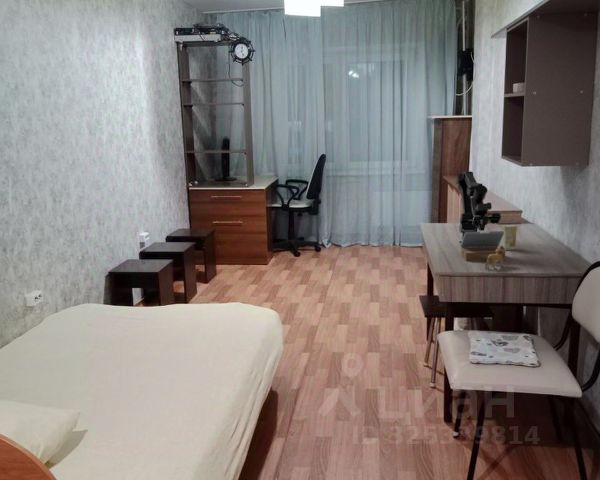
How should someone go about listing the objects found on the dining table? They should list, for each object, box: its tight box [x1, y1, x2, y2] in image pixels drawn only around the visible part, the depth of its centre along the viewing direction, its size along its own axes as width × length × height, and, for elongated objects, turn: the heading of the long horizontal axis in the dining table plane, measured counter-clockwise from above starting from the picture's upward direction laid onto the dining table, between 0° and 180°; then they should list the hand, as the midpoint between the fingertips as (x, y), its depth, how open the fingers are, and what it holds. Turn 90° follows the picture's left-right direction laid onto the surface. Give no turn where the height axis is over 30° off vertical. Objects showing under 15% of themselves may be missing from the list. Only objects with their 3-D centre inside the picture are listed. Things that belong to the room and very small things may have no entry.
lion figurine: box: [484, 245, 506, 270], centre depth 259 cm, size 15×5×9 cm, turn 138°
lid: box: [460, 229, 504, 248], centre depth 277 cm, size 13×18×1 cm
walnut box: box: [460, 246, 506, 262], centre depth 277 cm, size 12×18×4 cm, turn 87°
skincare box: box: [499, 224, 518, 251], centre depth 291 cm, size 6×4×12 cm
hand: (482, 232), depth 275 cm, fingers closed
